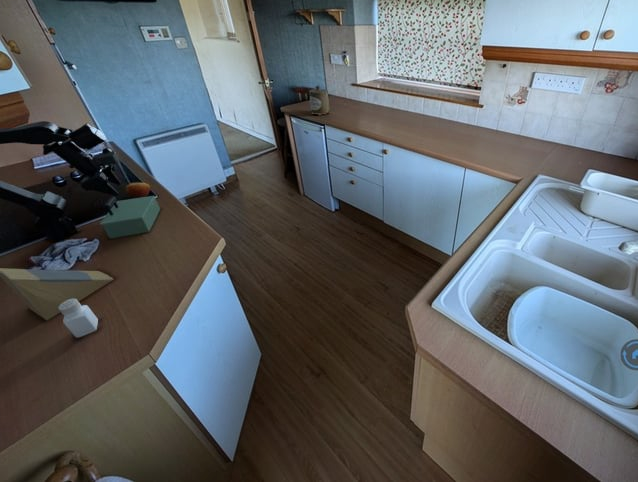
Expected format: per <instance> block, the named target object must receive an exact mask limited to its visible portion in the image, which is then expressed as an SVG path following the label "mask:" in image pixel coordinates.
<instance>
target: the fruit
mask: <svg viewBox="0 0 638 482" xmlns="http://www.w3.org/2000/svg"><path fill="white" fill-rule="evenodd" d="M150 190H151V185H150V184H149V183H146V182H131V183H130V184H127V185H126V186H125V191H126V194H127V195H128V196H129V197H130V199H135V198H142V197H148V196H149V195H150V194H149V193H150Z"/></svg>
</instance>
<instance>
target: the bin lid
mask: <svg viewBox="0 0 638 482" xmlns="http://www.w3.org/2000/svg"><path fill="white" fill-rule="evenodd" d="M154 197H155V195H150V196H149V195H148V196H146V197H142V198H135V199H132V198H130V199H121V200H117V196H110V197H109V199H108V200H107V201H106V202H105V204H104V205H103V209H104V210H106V211H107V214H106V215H105V216H104V218H103V219H102V220H101V222H100V223H99V226H102V225H107V224H113V223H119V222H125V221H131V220H137V219H143V217H144V215H145V213H146V212H147V210H148V208H149V206H150V204H151V203H152V201H153V199H154ZM155 198H156V197H155Z"/></svg>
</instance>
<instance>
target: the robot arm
mask: <svg viewBox="0 0 638 482" xmlns="http://www.w3.org/2000/svg"><path fill="white" fill-rule="evenodd" d="M107 141H108V139H107V137H106V136H105V134H104V133H103V132H102V131H101V130H100V129H97V128H96V127H94V126H92V125H90V124H89V123H85V124H82V125H81V126H80V127H77V128H76V129H70V128H66V127H62V126H58V125H56V124H55V123H53V122H51V121H48V120H47V121H45V120H40V121H37V122H36V121H35V122H31V123H27V124H25V125H20V126H14V127H8V128H6V127H5V128H0V145H2V144H3V145H4V144H5V145H6V144H24V145H25V144H27V145H42V149H43V152H42V155H44V156H46V155H49V154H51V153H54V154H55V156H58V157H59V158H60V159H61V160H64V161H65V162H66V163H67V164H68V167H69V168H70V169H75V170H76V171H78V172H79V173H81V175H80V176H81V177H82V179H81V182H80V188H82V190H84V191H85V192H86V191H89V192H93V191H94V192H99V193H103V194H107V195H110V196H111V195H112V196H113V197H117V196H119V194H120V193H119V192H118V191H117V190H116V188H114V187H113V186H112V185H111V184H110V183H112V184H114V185H117V186H120V185H122V182H121V181H120V179H119V178H118V176H117V174H116V173H114V171H113V165H117V164H119V161H120V158H119V157H118V155H117V152H116V151H115V150H114V149H113V150H112V149H111V148H109V147H104V148H102V149H101V152H99V153H98V154H94V153H93V152H90V151H88V152H86V151H85V150H92V149H93V148H96V147H97V146H99V145H101V144H103V143H105V142H107ZM0 200H4V201H6V202H9V203H13V204H15V205H18V206H21V207H24V208H25V209H26V210H27V211H28V212H29V213H31V214H32V215H34V216H36V217H38V218H37V219H36V221H35V223H34V224H33V225H34V227H36V228H37V229H39V230H42V231H43V233H44V235H45V239H46V240H49V241H51V242H55V243H59V242H61V241H62V240H65V239H67V238H69V237H70V236H73V235H75V234H77V233H78V232H79V233H80V231H79V229H77V227H76V225H75V224H74V222H73V220H72V219H71V218H68V217H67V216H65V214H66V211H67V209H68V207H69V203H68V201H67V200H66V199H64V198H63V196H62V195H58V194H55V193H53V192H51V191H48V190H47V191H45V193H35V192H32V191H29V190H26V189H24V188H21V187H18V186H16V185H13V184H11V183H8V182H5V181H3V180H0Z"/></svg>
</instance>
